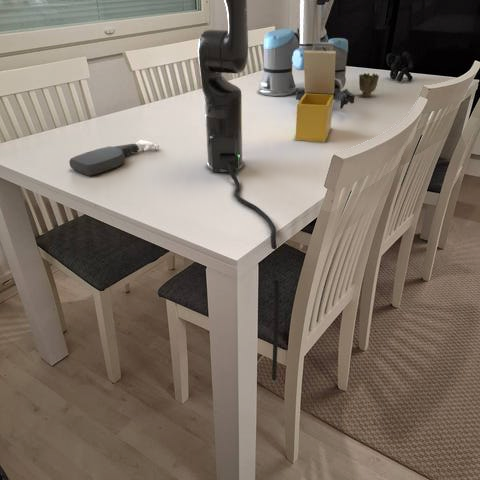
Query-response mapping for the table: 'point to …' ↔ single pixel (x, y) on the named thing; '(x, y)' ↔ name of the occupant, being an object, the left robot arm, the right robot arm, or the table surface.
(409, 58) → the squiggle
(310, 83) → the lid
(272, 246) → the left robot arm
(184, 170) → the table surface
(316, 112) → the yellow hollow box
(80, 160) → the spray bottle
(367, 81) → the cup
